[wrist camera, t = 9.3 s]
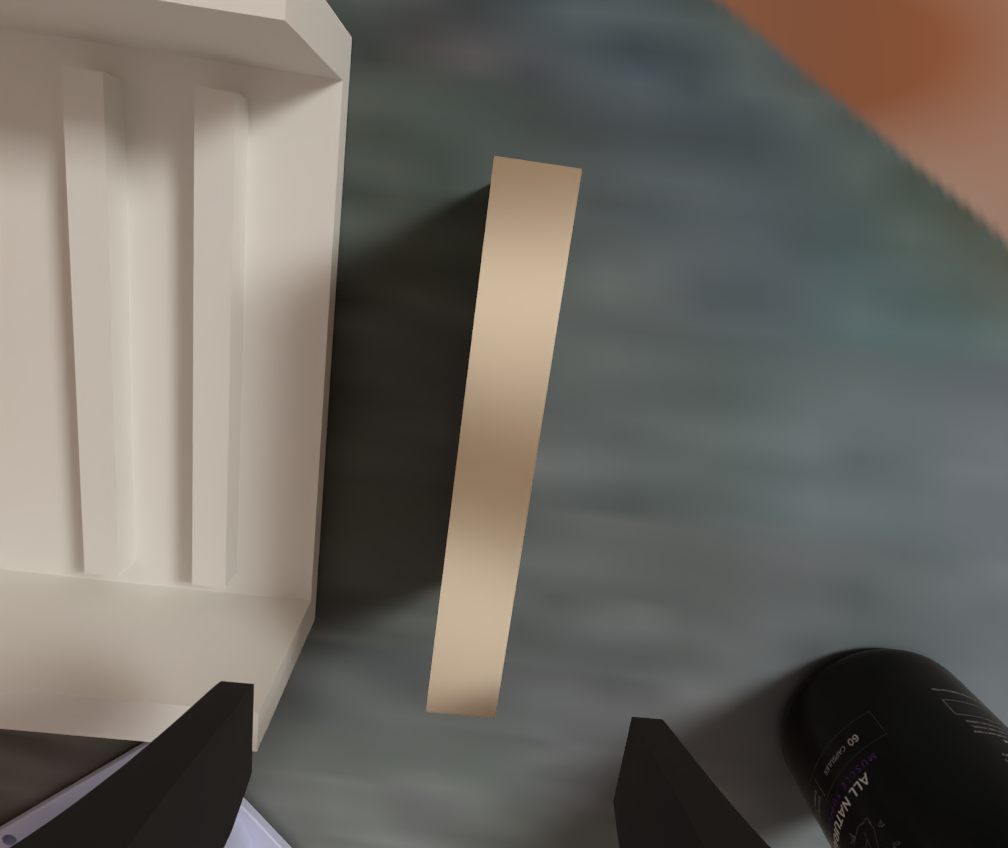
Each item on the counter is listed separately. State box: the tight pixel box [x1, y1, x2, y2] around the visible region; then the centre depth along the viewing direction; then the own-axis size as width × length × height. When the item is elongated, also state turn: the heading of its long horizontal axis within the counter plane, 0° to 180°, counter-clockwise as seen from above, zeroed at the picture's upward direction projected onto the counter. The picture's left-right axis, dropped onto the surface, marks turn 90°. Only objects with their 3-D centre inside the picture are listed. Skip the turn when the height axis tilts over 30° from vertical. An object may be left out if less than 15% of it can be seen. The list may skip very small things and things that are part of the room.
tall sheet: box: [426, 156, 582, 718], centre depth 17 cm, size 12×2×8 cm, turn 172°
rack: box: [0, 0, 352, 752], centre depth 17 cm, size 18×14×6 cm
